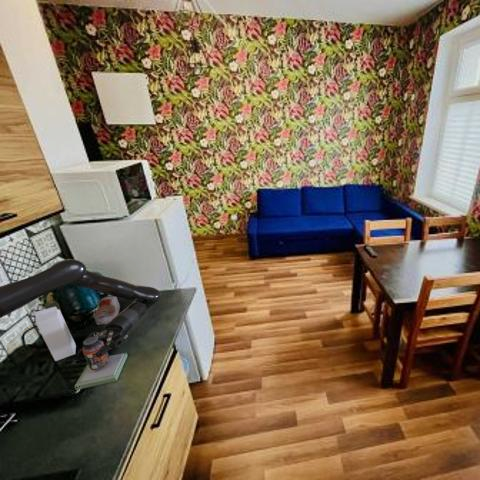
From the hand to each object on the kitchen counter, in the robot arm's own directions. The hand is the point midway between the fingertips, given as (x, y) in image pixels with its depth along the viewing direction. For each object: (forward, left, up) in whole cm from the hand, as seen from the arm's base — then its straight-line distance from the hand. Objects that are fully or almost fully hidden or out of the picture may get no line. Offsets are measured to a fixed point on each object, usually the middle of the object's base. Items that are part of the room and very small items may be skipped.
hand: (88, 355), depth 92 cm
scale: (+1, +2, -11) cm, 12 cm away
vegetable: (-25, +33, -11) cm, 43 cm away
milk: (-17, +17, -11) cm, 27 cm away
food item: (-9, +38, -11) cm, 41 cm away
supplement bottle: (+1, +2, -7) cm, 8 cm away
